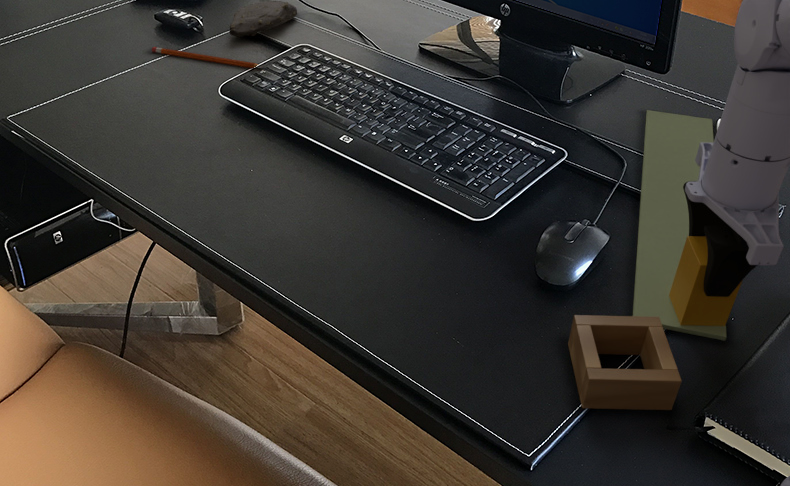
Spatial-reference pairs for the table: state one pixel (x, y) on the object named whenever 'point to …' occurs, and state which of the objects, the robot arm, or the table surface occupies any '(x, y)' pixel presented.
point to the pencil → (204, 57)
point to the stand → (623, 385)
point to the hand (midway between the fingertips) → (708, 275)
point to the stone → (261, 17)
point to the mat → (667, 214)
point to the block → (697, 289)
